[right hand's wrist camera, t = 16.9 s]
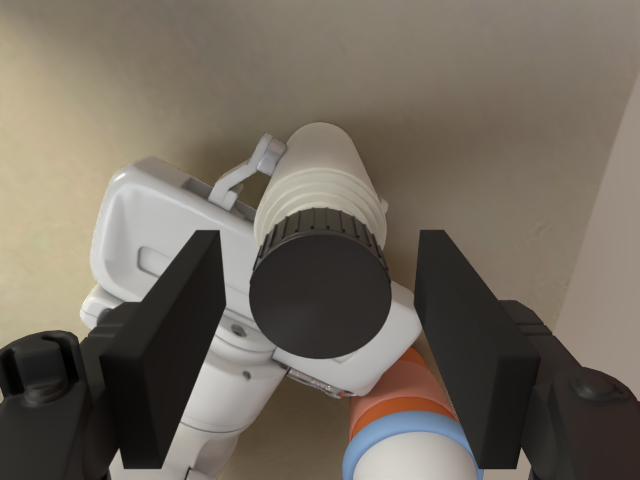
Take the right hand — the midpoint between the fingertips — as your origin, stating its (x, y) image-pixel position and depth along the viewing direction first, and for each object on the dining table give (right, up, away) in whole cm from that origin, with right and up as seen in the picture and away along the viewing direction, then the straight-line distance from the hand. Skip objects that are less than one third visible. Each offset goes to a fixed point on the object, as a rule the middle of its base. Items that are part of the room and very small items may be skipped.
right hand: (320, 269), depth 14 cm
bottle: (0, +7, +17) cm, 18 cm away
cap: (0, -1, -2) cm, 2 cm away
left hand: (0, +5, +10) cm, 12 cm away
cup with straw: (+6, -10, +23) cm, 26 cm away
